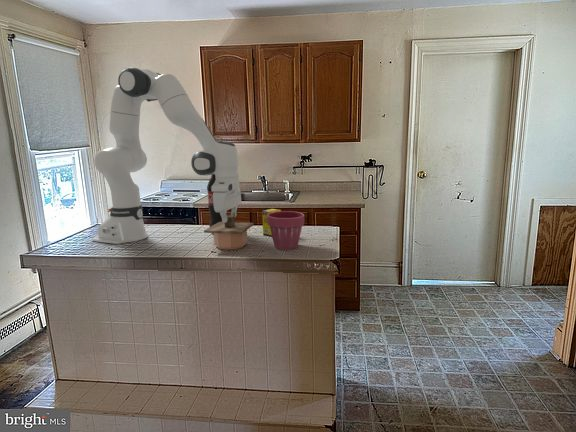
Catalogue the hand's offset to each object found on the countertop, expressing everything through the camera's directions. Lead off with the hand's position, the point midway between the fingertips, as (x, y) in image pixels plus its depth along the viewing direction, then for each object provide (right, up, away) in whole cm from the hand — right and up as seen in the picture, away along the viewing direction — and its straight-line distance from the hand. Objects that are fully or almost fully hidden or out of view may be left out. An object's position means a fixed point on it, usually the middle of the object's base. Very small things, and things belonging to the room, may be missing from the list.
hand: (229, 219), depth 151 cm
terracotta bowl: (0, -10, +2) cm, 11 cm away
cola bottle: (-8, -6, +24) cm, 26 cm away
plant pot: (+22, -11, -1) cm, 25 cm away
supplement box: (+16, -7, +18) cm, 25 cm away
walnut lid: (0, -4, +1) cm, 4 cm away
